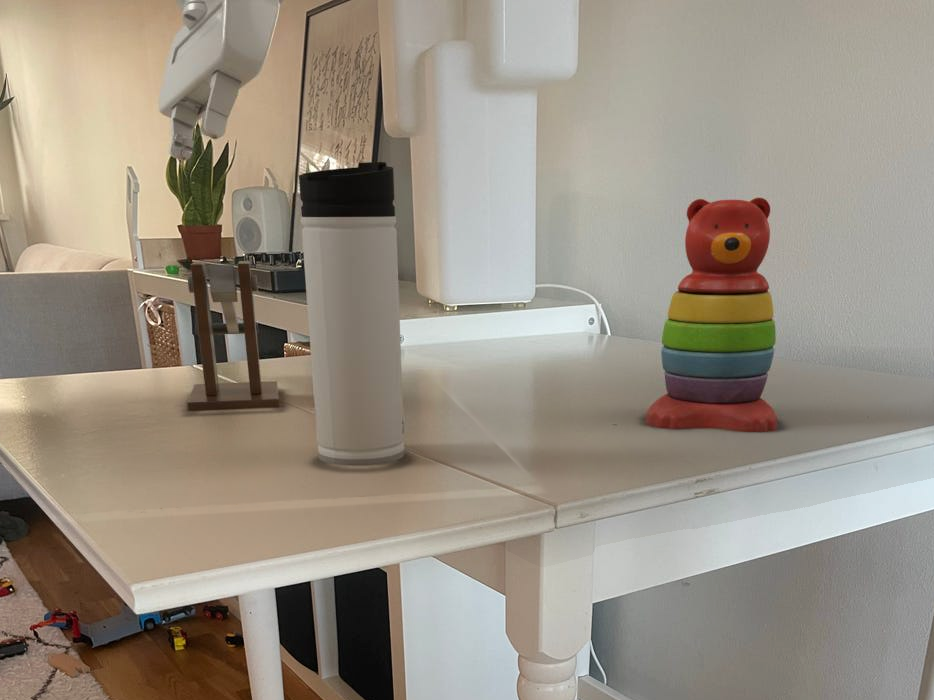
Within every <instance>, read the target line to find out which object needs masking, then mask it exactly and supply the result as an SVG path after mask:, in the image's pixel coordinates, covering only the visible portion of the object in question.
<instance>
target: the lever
mask: <svg viewBox="0 0 934 700" xmlns="http://www.w3.org/2000/svg"><path fill="white" fill-rule="evenodd" d="M207 269H208V270H207V271H208V280H209V281H208V282H209V292H210V296H211V300H212V302H213V303H220V306H221V310H222V313H223V317H224V321H225V323H223V322H222V323H221V322H220V323H212V330H213V336H214V335H245V333H244V323H243V322H239V321H238V316H237V315H238V314H237V310H236V305H235V303H238V301H239V300H238V299H239V298H238V290H237V278H236V272H235V267H234V264H218V265H217V264H215V265H214V264H212V265H207ZM256 332H257V334H259V324H258V322H256Z"/></svg>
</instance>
